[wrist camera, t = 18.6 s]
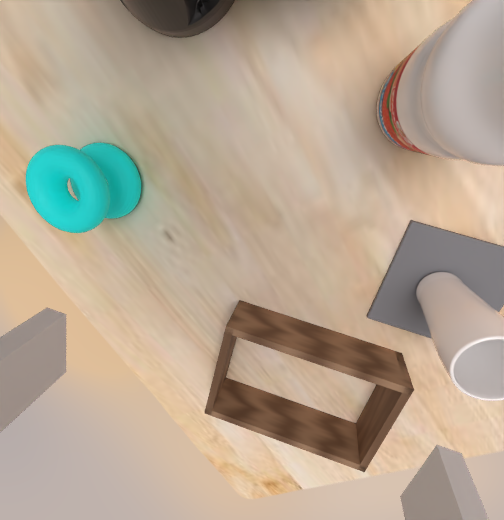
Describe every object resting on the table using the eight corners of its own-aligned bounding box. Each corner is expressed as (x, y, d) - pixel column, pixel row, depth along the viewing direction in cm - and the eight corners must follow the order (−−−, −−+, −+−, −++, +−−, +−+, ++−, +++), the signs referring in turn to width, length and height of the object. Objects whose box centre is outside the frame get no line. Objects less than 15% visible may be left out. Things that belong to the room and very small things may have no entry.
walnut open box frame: (218, 380, 54) (204, 413, 48) (239, 300, 48) (226, 326, 42) (359, 430, 52) (364, 472, 46) (401, 353, 46) (414, 389, 39)
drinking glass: (474, 305, 40) (549, 395, 27) (416, 318, 43) (458, 407, 29) (462, 257, 39) (536, 327, 25) (402, 273, 41) (440, 346, 27)
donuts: (24, 225, 39) (13, 137, 35) (81, 207, 48) (78, 136, 44) (99, 244, 38) (97, 155, 34) (144, 222, 47) (146, 150, 43)
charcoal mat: (366, 315, 45) (367, 317, 44) (410, 220, 39) (412, 221, 38) (471, 348, 43) (472, 351, 43) (532, 254, 37) (535, 256, 37)
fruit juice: (487, 117, 34) (981, 78, 8) (397, 166, 37) (551, 246, 12) (450, 29, 32) (947, -377, 6) (359, 89, 35) (444, -16, 10)
